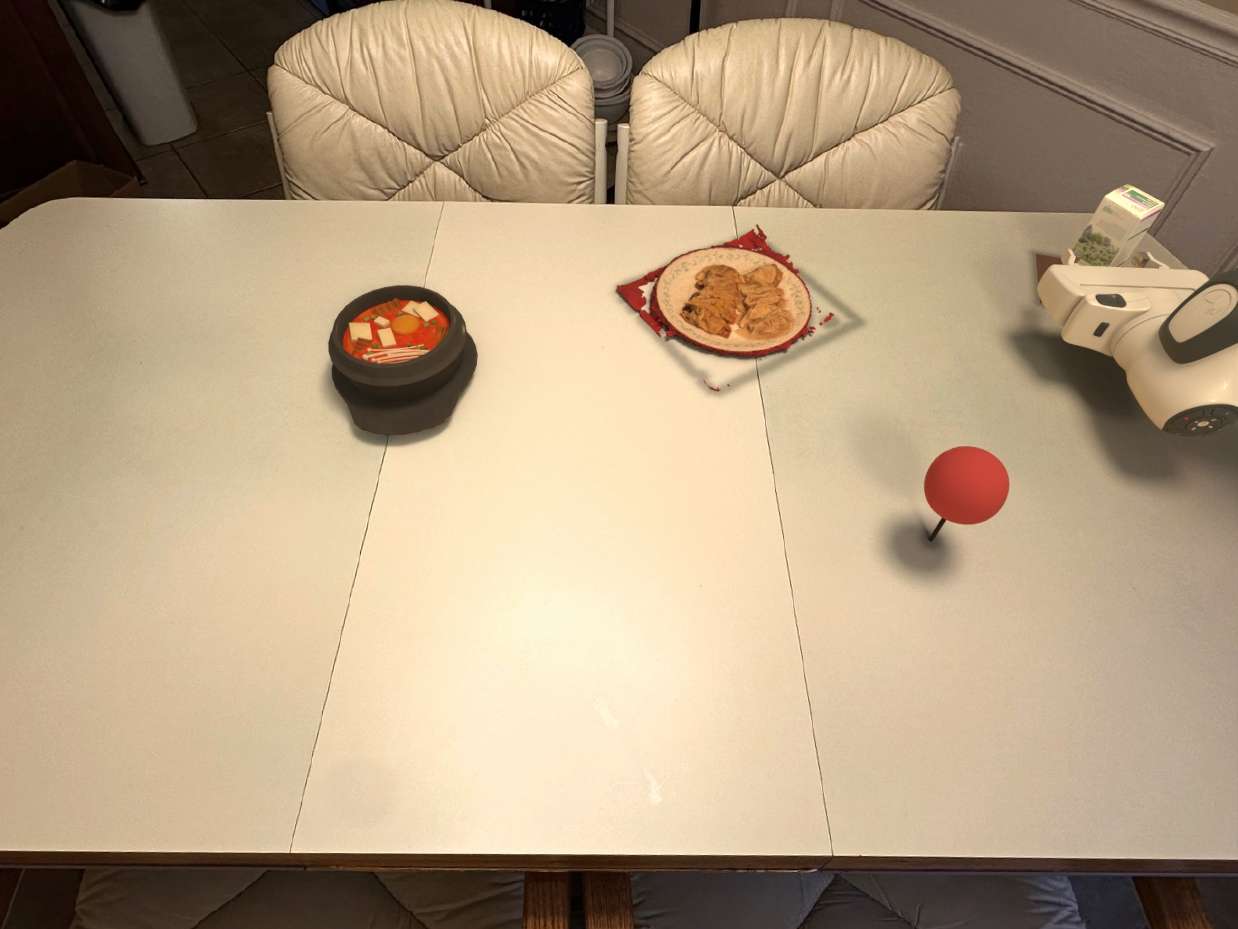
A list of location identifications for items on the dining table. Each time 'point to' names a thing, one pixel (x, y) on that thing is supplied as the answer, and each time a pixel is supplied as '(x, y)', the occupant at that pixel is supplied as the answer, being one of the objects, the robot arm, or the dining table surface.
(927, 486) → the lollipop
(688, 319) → the plate with food
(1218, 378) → the robot arm
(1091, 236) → the syrup box
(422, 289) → the casserole
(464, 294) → the dining table surface
